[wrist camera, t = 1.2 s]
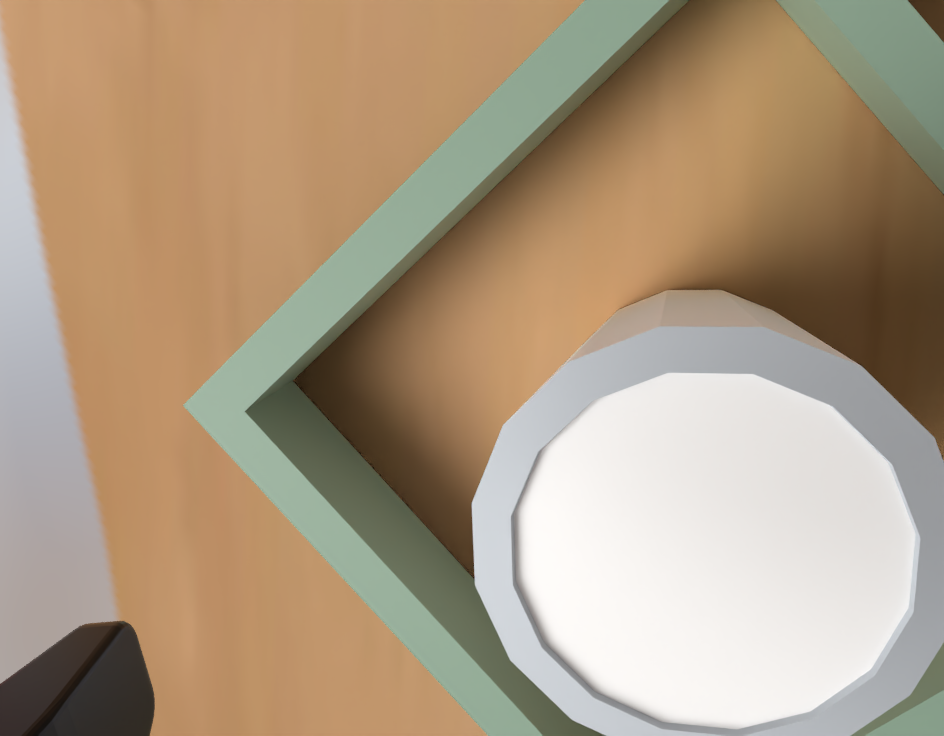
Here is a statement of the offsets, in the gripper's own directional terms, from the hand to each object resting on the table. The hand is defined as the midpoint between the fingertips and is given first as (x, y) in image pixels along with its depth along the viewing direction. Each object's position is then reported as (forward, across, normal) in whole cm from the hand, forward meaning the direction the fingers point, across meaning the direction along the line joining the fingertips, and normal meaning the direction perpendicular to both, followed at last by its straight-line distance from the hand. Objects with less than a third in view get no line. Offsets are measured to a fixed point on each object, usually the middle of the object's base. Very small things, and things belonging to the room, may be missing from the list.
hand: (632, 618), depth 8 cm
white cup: (+11, -3, +4) cm, 12 cm away
